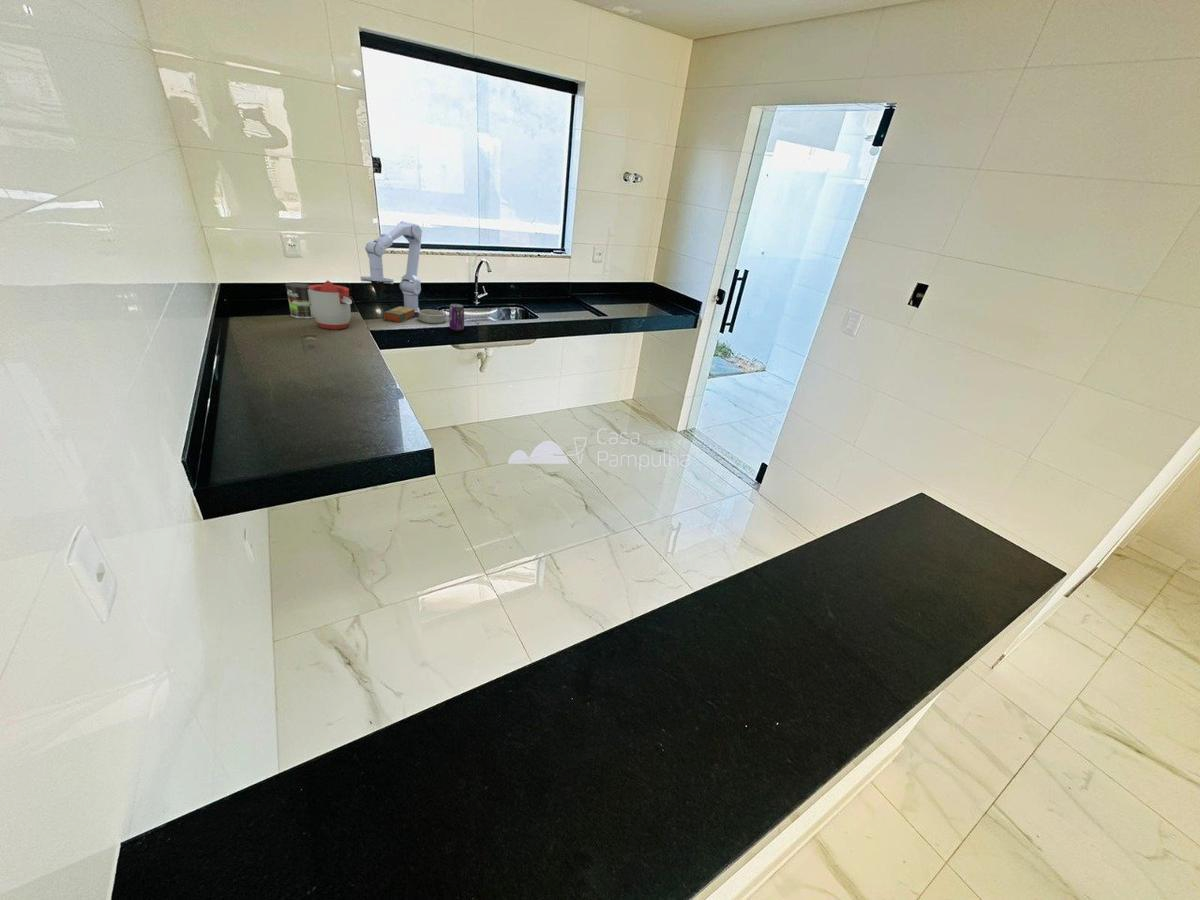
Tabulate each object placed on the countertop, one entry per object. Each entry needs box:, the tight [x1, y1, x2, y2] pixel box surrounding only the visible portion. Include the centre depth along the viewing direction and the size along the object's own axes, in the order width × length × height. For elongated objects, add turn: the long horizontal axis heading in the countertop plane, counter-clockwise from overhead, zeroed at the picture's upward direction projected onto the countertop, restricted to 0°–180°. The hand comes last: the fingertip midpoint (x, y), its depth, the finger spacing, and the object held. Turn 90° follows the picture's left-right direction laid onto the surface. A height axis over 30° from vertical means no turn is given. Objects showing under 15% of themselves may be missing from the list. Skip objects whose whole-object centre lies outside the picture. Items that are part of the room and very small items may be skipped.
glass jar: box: [285, 282, 315, 319], centre depth 214 cm, size 10×10×14 cm
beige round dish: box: [417, 309, 446, 324], centre depth 241 cm, size 13×13×4 cm
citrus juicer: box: [308, 280, 353, 331], centre depth 205 cm, size 16×17×20 cm
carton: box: [383, 306, 416, 323], centre depth 236 cm, size 8×16×4 cm, turn 173°
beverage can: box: [448, 303, 465, 332], centre depth 231 cm, size 7×7×12 cm
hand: (378, 297), depth 231 cm, fingers closed
